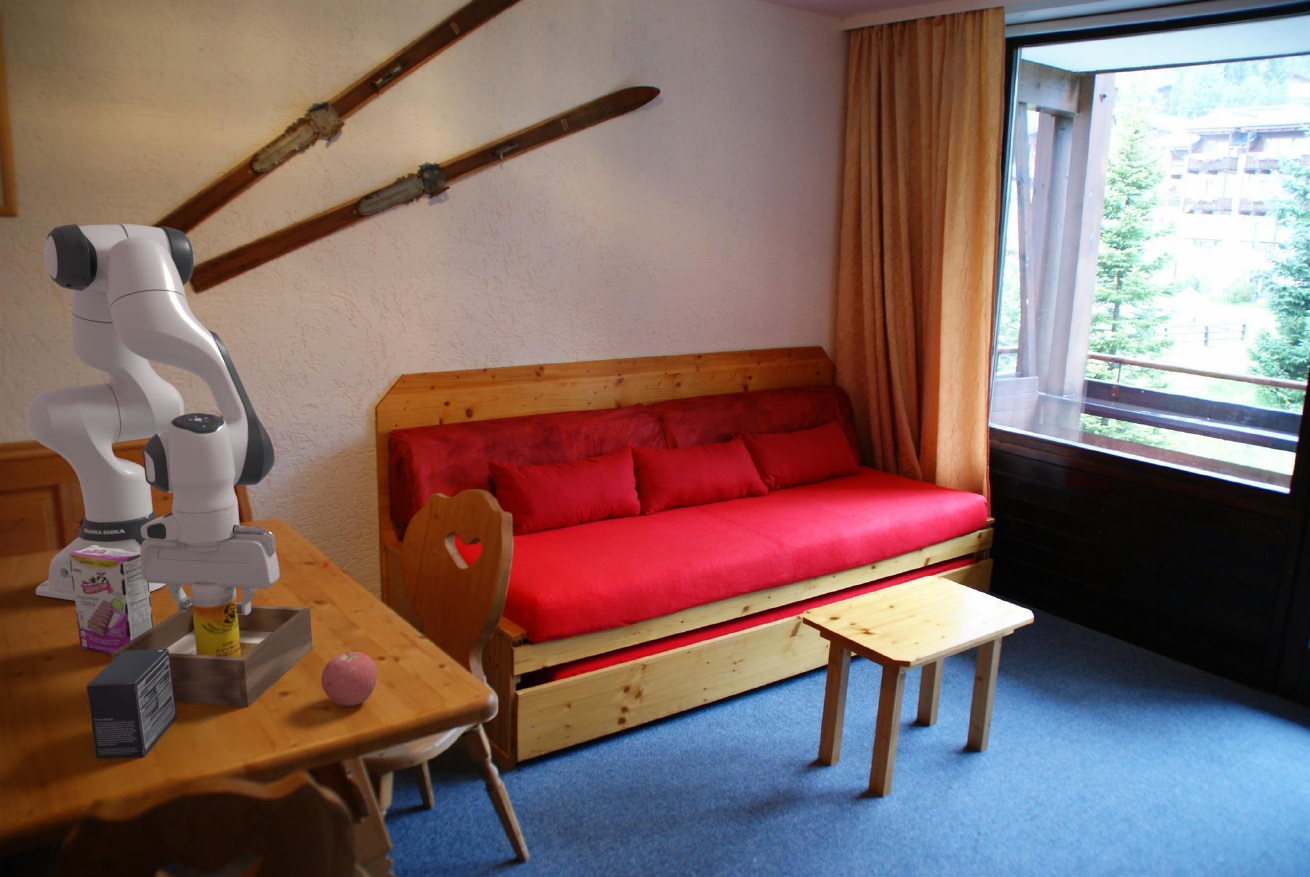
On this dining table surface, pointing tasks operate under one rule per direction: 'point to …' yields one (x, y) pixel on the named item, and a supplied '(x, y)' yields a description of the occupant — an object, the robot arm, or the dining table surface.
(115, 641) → the candy bar box
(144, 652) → the small box
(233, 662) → the wooden box
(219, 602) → the beer can
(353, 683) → the apple
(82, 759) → the dining table surface
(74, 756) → the dining table surface
